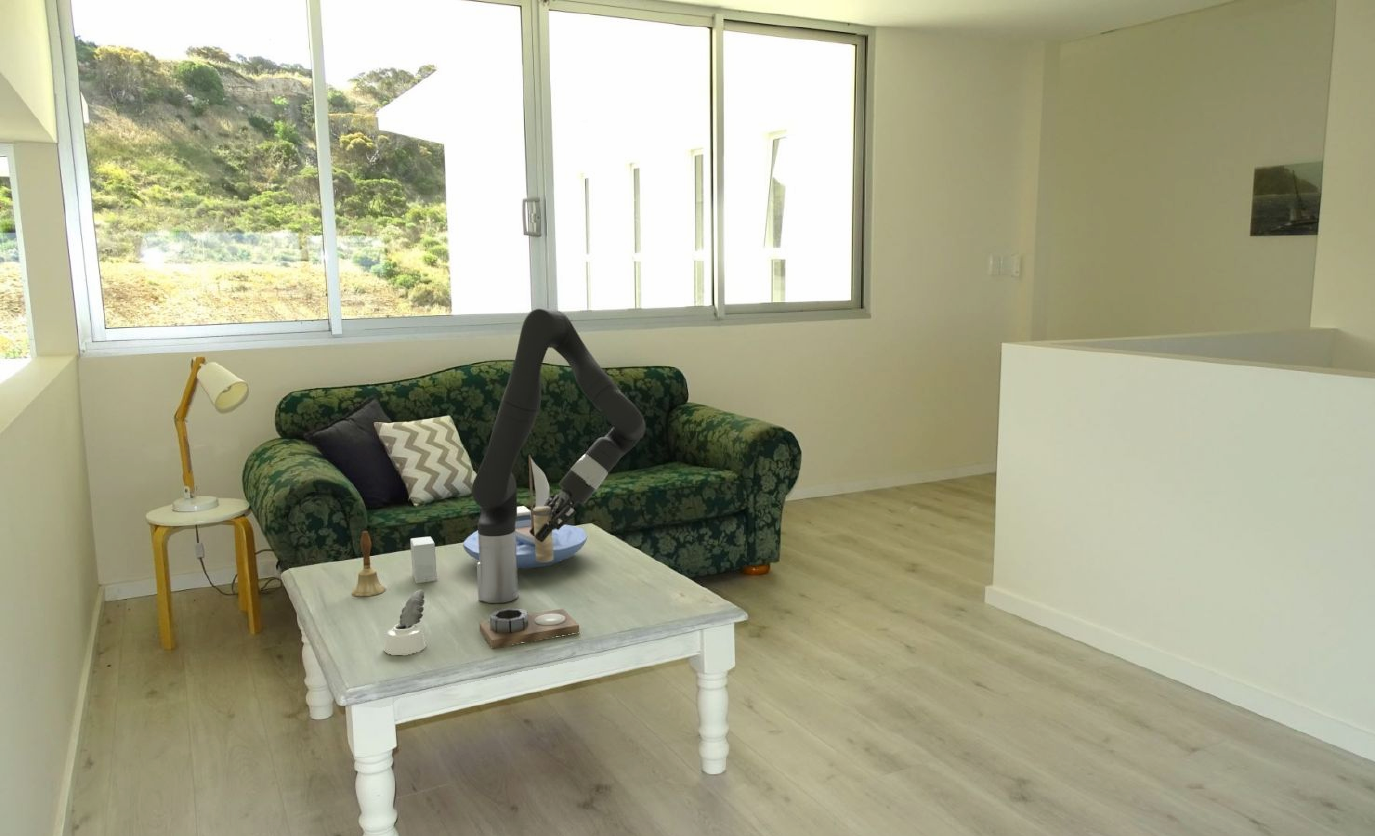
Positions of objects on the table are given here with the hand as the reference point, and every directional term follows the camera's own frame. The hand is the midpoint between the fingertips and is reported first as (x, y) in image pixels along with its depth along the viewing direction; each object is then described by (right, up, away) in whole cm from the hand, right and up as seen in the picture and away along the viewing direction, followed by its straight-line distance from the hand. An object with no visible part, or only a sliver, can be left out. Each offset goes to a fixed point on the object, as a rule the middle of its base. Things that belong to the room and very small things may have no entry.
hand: (535, 537), depth 222 cm
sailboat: (-11, -14, +56) cm, 59 cm away
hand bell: (-48, -18, +33) cm, 62 cm away
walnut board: (-2, -22, +2) cm, 22 cm away
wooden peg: (+2, -5, +2) cm, 6 cm away
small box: (-37, -17, +43) cm, 59 cm away
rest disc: (+3, -20, +4) cm, 20 cm away
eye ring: (-6, -20, 0) cm, 21 cm away
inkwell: (-28, -23, -1) cm, 36 cm away
